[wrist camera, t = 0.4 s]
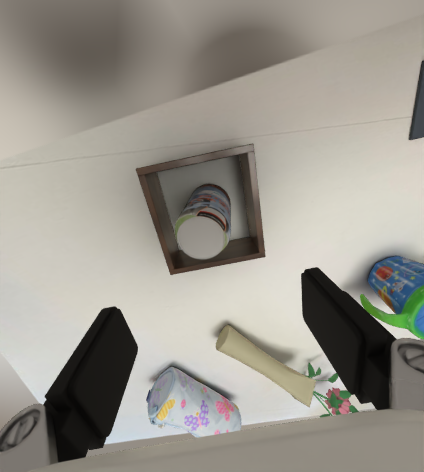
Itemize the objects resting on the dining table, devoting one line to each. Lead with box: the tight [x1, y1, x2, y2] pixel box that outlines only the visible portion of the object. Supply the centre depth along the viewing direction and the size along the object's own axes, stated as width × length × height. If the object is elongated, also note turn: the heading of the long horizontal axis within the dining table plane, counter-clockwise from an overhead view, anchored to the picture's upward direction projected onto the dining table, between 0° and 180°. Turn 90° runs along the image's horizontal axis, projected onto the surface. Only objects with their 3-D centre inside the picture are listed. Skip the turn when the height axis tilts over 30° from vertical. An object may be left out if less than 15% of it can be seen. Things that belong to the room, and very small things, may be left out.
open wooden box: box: [136, 144, 265, 275], centre depth 28 cm, size 15×14×6 cm
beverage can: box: [175, 184, 231, 259], centre depth 25 cm, size 6×7×12 cm
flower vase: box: [216, 325, 359, 417], centre depth 41 cm, size 12×12×35 cm
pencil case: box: [146, 367, 241, 438], centre depth 43 cm, size 21×9×10 cm, turn 47°
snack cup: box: [360, 256, 424, 339], centre depth 32 cm, size 16×10×10 cm
